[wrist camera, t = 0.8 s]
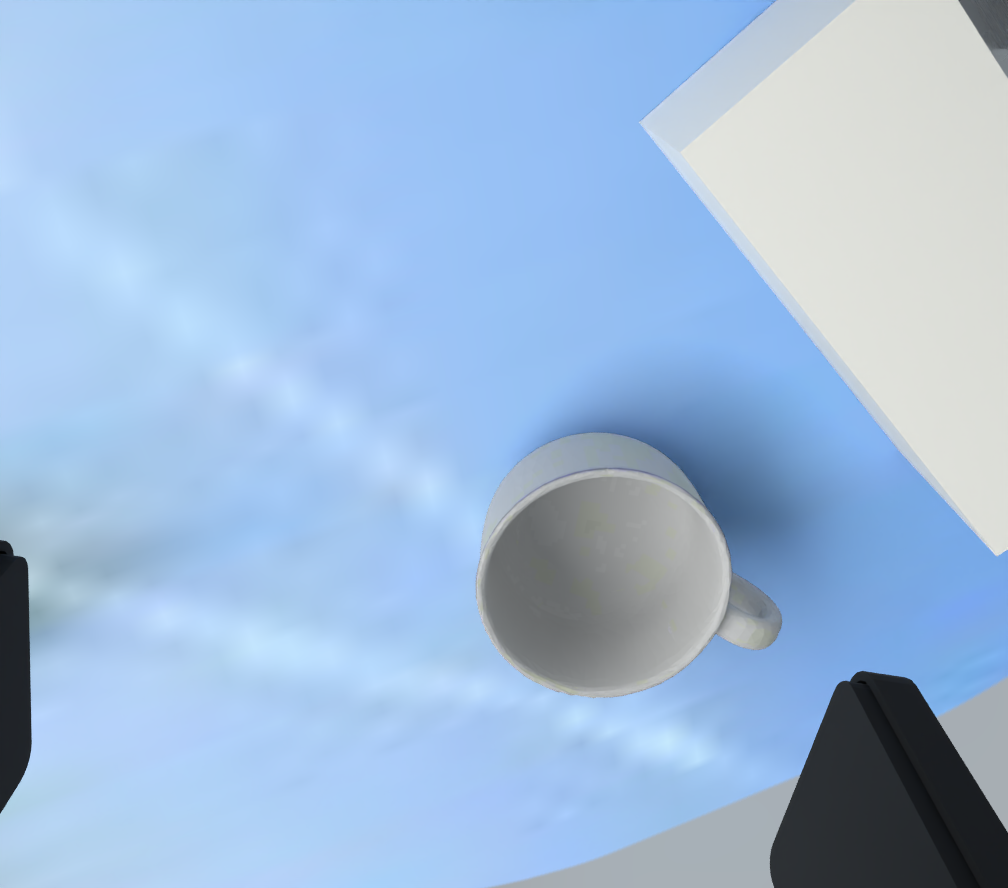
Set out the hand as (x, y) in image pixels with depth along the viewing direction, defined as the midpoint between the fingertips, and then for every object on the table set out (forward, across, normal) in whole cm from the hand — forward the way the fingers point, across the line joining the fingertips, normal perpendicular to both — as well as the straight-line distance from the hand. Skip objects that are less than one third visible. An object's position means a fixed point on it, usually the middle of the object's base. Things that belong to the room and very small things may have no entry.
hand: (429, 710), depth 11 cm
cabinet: (+33, -17, -2) cm, 37 cm away
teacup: (+33, -9, +14) cm, 37 cm away
